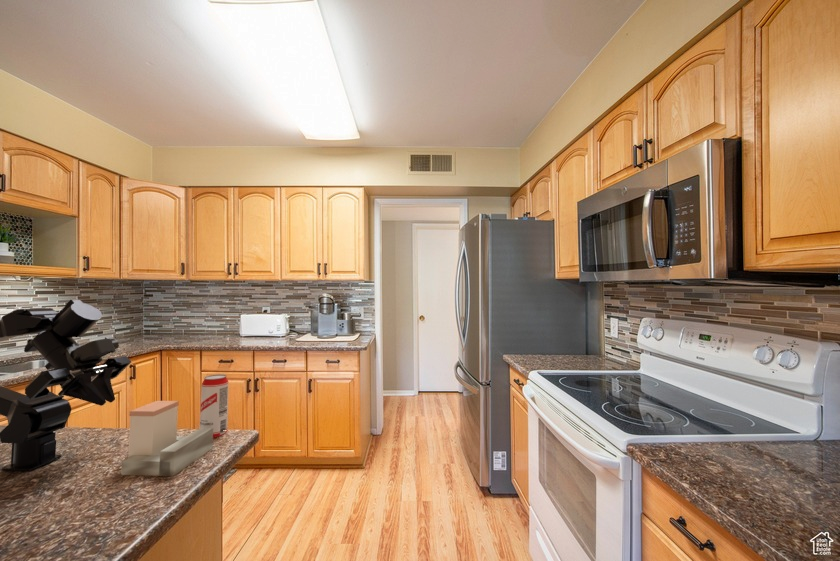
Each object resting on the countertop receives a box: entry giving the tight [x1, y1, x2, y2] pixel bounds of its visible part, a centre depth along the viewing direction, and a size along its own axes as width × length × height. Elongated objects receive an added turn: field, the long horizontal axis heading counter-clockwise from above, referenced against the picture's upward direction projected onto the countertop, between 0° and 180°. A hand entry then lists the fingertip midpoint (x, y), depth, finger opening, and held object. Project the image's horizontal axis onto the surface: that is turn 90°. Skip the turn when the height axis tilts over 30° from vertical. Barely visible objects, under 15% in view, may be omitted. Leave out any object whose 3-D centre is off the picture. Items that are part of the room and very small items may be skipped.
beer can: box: [199, 373, 230, 438], centre depth 90 cm, size 6×6×16 cm
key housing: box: [120, 427, 214, 477], centre depth 75 cm, size 16×18×6 cm
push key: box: [127, 400, 180, 458], centre depth 75 cm, size 5×7×12 cm
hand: (108, 402), depth 76 cm, fingers closed
